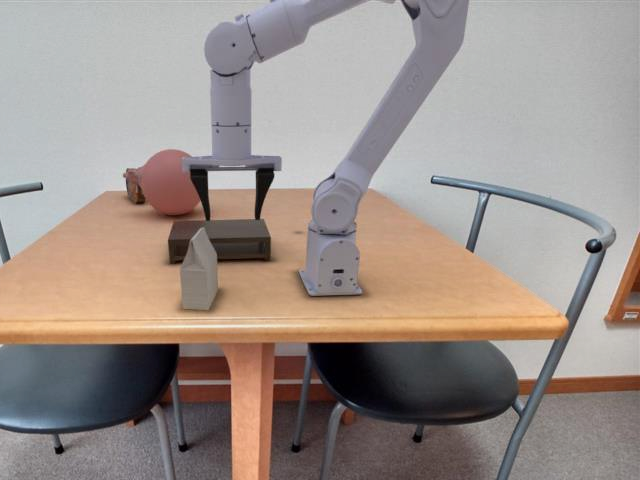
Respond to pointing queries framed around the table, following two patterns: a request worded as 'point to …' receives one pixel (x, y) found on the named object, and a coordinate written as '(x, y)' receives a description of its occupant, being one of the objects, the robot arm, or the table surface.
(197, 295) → the milk carton
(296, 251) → the table surface
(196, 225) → the dark brown low stand
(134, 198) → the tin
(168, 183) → the balloon
